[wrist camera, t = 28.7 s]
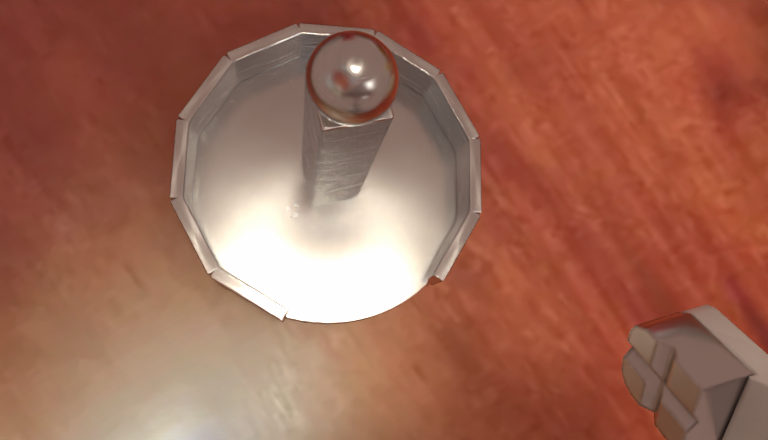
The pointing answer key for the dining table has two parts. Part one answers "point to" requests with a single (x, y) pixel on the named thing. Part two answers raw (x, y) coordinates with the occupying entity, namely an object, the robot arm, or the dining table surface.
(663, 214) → the dining table surface
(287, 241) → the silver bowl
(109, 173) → the dining table surface
